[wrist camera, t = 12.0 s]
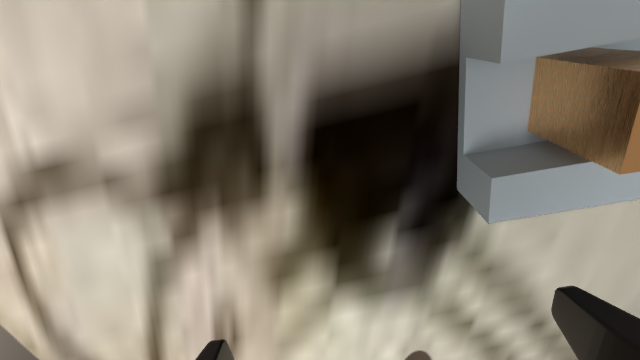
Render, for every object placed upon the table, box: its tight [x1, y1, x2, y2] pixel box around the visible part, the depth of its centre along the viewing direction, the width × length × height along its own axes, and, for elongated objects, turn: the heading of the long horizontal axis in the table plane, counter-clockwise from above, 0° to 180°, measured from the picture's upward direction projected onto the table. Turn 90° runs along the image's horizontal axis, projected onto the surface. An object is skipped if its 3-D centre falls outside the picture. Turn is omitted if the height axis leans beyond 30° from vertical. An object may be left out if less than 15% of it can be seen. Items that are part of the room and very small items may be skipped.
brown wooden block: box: [527, 47, 640, 175], centre depth 15 cm, size 4×3×6 cm
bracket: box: [457, 0, 640, 224], centre depth 16 cm, size 11×10×4 cm
